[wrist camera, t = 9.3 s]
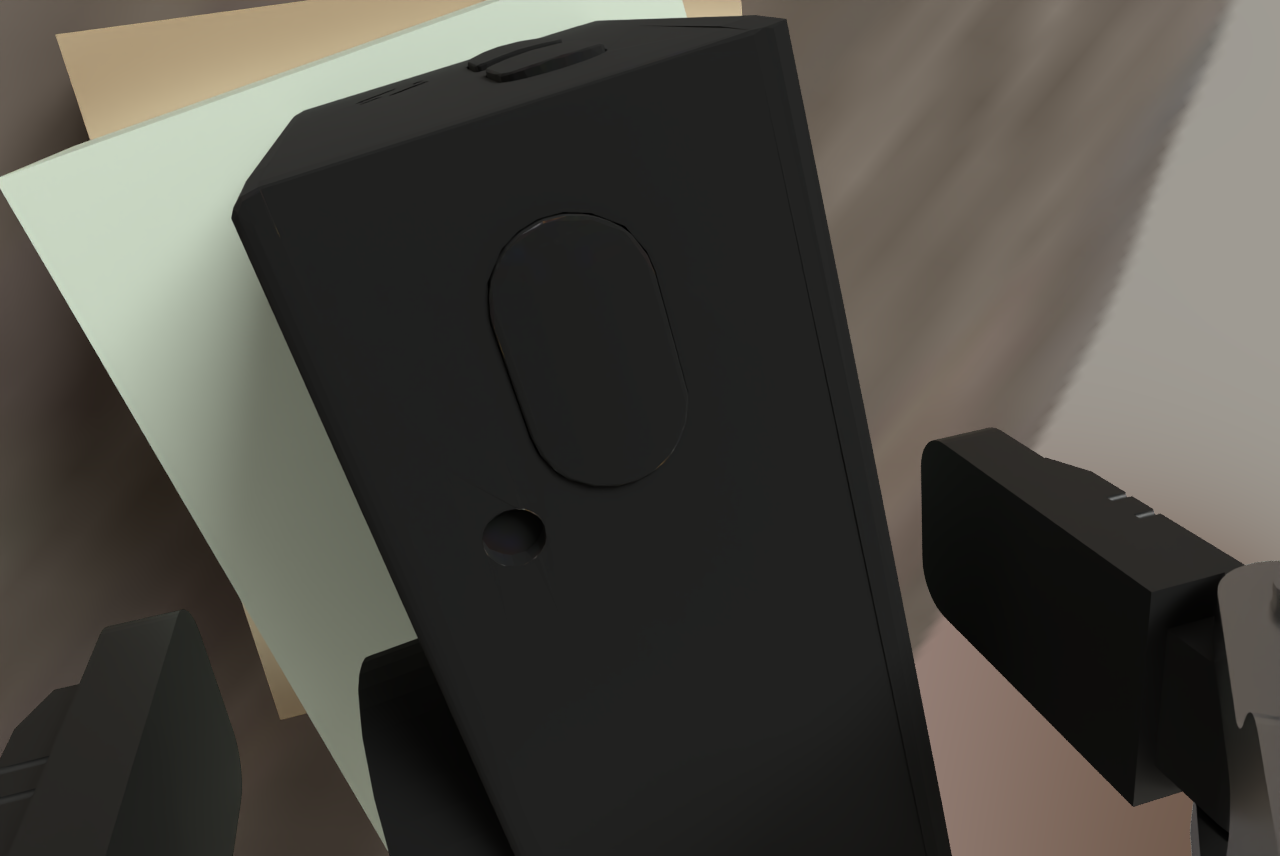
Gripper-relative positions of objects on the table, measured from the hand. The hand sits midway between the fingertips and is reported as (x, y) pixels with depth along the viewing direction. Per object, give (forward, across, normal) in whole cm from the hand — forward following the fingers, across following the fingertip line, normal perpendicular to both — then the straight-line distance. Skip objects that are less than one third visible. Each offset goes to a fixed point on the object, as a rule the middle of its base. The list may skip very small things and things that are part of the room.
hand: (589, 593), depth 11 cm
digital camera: (+5, 0, 0) cm, 5 cm away
